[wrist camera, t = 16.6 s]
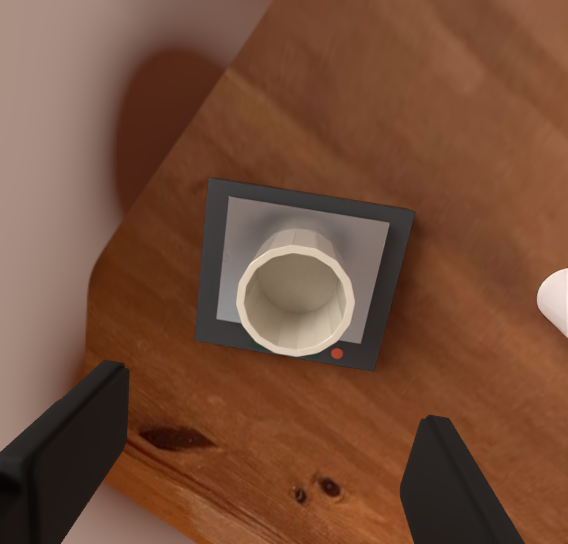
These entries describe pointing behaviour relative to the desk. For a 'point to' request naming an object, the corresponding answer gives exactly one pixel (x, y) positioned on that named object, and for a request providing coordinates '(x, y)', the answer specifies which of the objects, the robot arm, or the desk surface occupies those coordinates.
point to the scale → (396, 216)
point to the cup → (555, 299)
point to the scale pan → (334, 226)
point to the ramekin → (296, 294)
